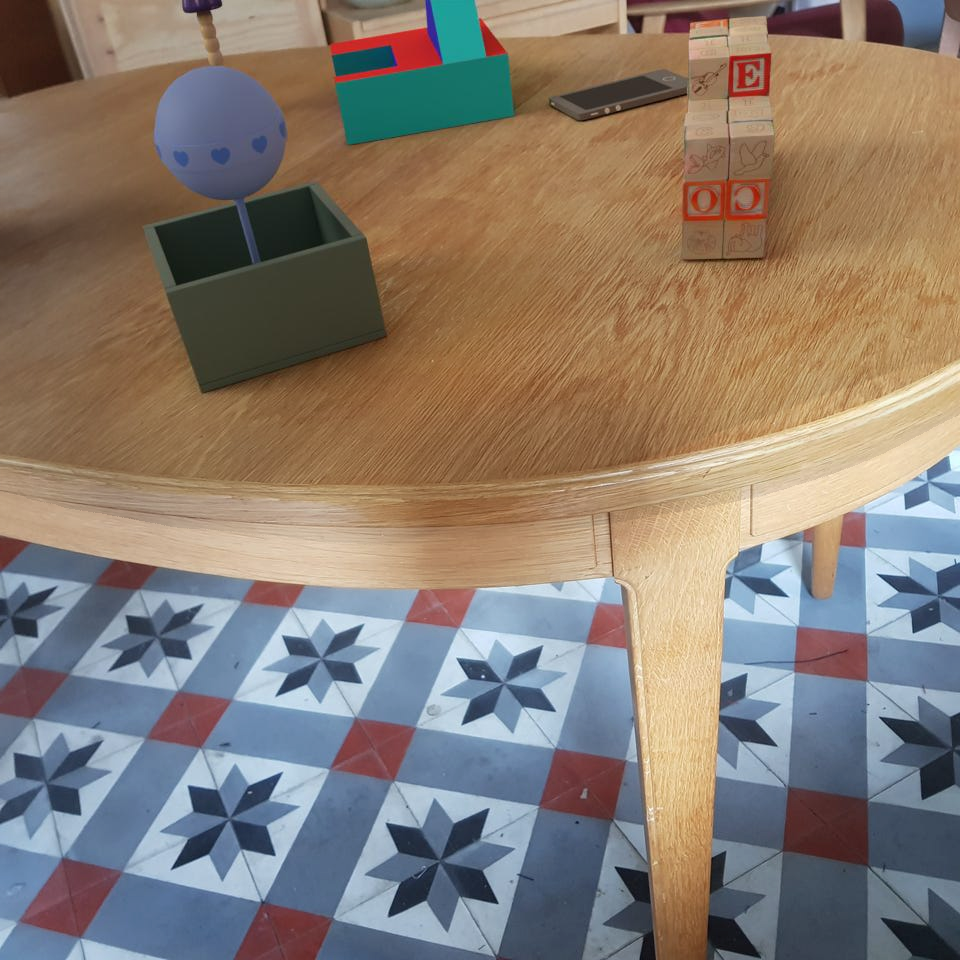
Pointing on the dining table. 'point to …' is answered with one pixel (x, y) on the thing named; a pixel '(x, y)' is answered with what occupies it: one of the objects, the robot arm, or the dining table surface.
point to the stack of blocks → (727, 140)
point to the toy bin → (266, 284)
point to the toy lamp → (206, 26)
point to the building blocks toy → (423, 76)
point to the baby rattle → (221, 136)
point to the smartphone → (620, 94)
